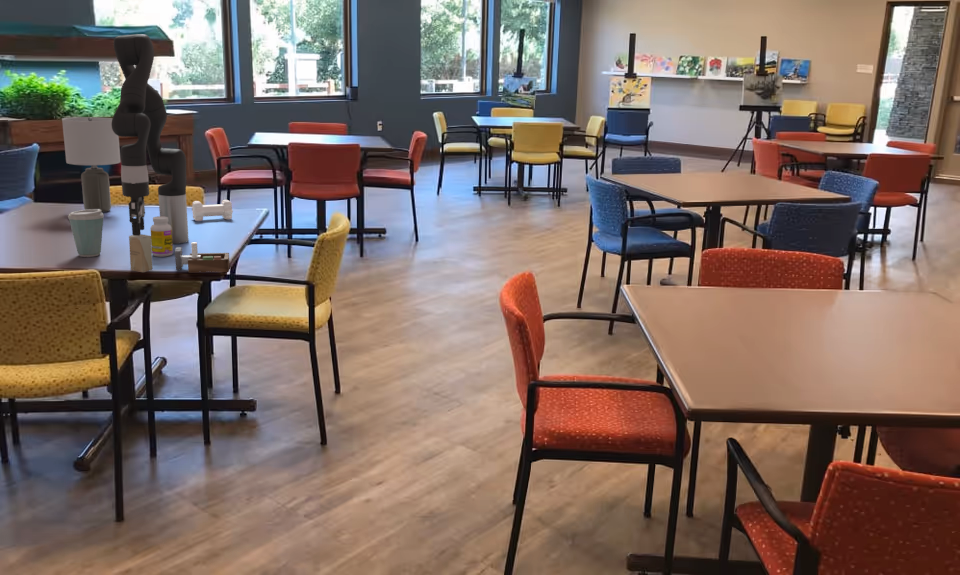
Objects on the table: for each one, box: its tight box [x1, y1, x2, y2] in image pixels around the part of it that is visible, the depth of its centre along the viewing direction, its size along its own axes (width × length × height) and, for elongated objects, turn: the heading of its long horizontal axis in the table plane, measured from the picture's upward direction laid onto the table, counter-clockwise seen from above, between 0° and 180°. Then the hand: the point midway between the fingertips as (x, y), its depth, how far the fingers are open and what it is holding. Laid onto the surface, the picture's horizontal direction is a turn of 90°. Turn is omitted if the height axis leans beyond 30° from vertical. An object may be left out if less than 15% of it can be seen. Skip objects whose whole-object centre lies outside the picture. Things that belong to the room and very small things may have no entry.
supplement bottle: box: [149, 215, 174, 258], centre depth 268 cm, size 7×7×13 cm
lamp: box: [61, 116, 121, 214], centre depth 331 cm, size 20×20×39 cm
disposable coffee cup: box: [67, 209, 105, 258], centre depth 263 cm, size 11×11×15 cm
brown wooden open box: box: [187, 252, 230, 274], centre depth 254 cm, size 9×12×5 cm
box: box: [128, 233, 153, 273], centre depth 248 cm, size 5×4×11 cm
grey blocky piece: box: [174, 241, 201, 271], centre depth 252 cm, size 6×7×8 cm
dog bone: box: [191, 199, 234, 222], centre depth 329 cm, size 15×9×8 cm, turn 120°
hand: (138, 232), depth 246 cm, fingers open, 8 cm apart
